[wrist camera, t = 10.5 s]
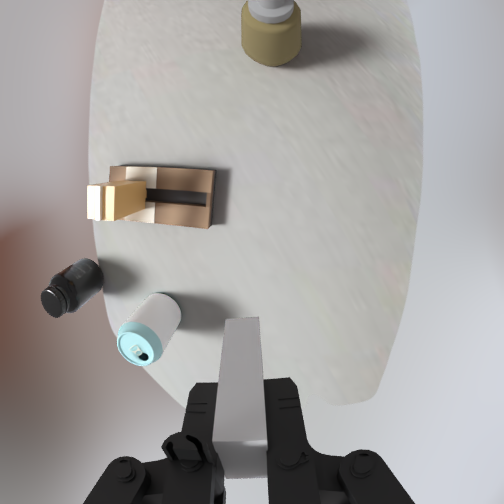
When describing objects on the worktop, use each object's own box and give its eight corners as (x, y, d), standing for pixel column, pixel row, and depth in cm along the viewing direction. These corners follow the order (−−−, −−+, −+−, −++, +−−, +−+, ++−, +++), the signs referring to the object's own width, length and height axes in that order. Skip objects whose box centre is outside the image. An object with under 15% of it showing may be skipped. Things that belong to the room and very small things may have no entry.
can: (185, 298, 46) (160, 338, 34) (179, 332, 48) (156, 376, 36) (146, 286, 45) (112, 321, 34) (142, 320, 48) (113, 359, 36)
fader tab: (150, 180, 39) (112, 186, 29) (149, 207, 40) (111, 222, 30) (127, 179, 39) (84, 186, 29) (126, 205, 40) (84, 219, 30)
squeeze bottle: (250, 24, 32) (237, -47, 15) (304, 34, 32) (321, -35, 15) (238, 68, 35) (215, 7, 18) (293, 79, 35) (308, 21, 18)
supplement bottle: (70, 269, 46) (30, 294, 34) (90, 250, 44) (47, 274, 33) (90, 298, 47) (54, 329, 36) (111, 282, 46) (73, 313, 34)
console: (216, 170, 39) (212, 170, 37) (211, 225, 42) (207, 229, 39) (118, 166, 40) (109, 166, 37) (116, 215, 42) (108, 218, 40)
